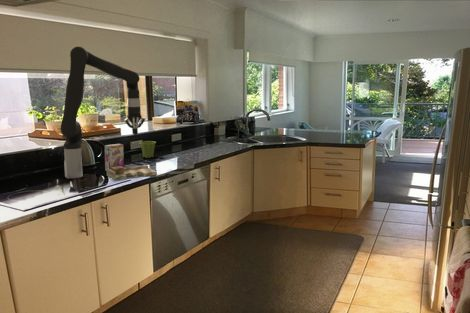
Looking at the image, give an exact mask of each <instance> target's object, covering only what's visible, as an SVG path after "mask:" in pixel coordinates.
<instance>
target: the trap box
mask: <svg viewBox="0 0 470 313" xmlns="http://www.w3.org/2000/svg"><path fill="white" fill-rule="evenodd" d="M106 169H107V171H106V176H107V177H109V178H110V179H111V178H112V179H111V180H113V181H121V180H128V179H134V178H136V179H137V178H143V177H151V176H157V175H158V174H157V171H156V170H154V169H152V168H149V165H148V164H146V165H139V166H138V165H137V166H128V167H124V173H123V174H116V172H114V171H112V170H111V169H109V168H106Z"/></svg>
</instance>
